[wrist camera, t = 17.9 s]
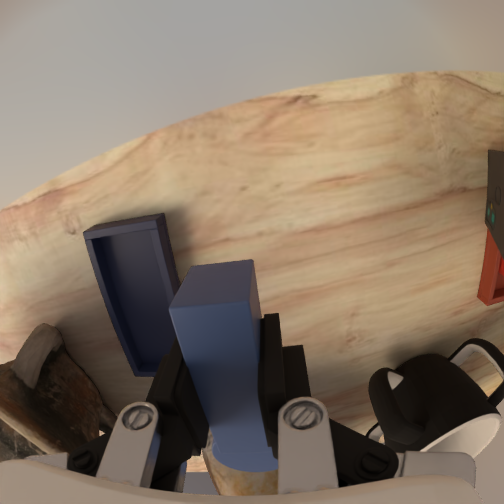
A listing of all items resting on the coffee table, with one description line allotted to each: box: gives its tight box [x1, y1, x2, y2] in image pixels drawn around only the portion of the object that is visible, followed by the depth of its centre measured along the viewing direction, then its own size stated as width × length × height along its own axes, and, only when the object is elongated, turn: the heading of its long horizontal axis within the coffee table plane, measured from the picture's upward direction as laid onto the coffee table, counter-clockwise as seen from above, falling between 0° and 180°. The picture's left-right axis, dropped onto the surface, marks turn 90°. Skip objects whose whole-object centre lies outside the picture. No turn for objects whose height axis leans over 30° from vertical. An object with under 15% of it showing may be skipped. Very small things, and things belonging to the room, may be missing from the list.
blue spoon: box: [169, 259, 278, 472], centre depth 11 cm, size 11×4×3 cm, turn 8°
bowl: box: [0, 323, 118, 463], centre depth 25 cm, size 27×26×15 cm
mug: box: [366, 338, 504, 458], centre depth 24 cm, size 16×16×12 cm
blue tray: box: [83, 213, 180, 377], centre depth 26 cm, size 15×7×2 cm, turn 8°
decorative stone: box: [202, 428, 278, 496], centre depth 25 cm, size 18×9×15 cm, turn 17°
